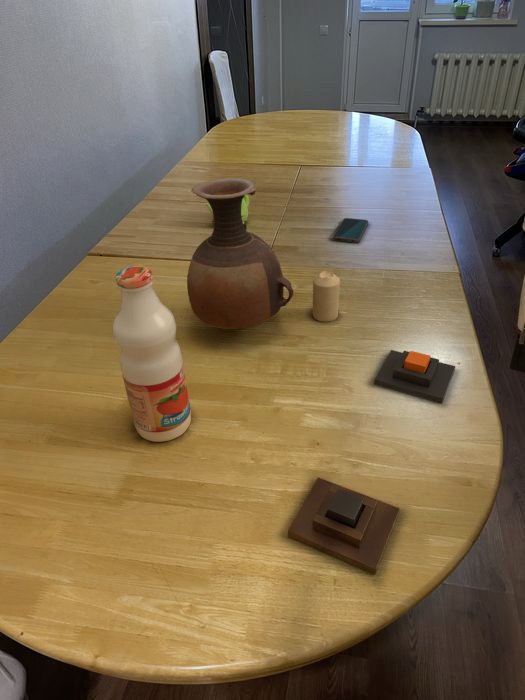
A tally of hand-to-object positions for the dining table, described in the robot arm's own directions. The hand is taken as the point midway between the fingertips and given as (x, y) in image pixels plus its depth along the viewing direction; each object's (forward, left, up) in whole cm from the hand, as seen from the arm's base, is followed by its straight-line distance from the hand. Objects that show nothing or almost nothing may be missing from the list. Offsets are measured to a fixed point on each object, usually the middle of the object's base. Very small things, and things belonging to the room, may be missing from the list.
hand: (524, 368), depth 60 cm
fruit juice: (+50, +9, -22) cm, 55 cm away
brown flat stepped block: (+16, +14, -22) cm, 30 cm away
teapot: (+86, -71, -22) cm, 113 cm away
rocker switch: (+16, +14, -19) cm, 29 cm away
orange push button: (+16, -21, -22) cm, 34 cm away
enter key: (+16, -21, -19) cm, 32 cm away
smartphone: (+50, -79, -22) cm, 96 cm away
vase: (+54, -22, -22) cm, 62 cm away
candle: (+39, -34, -22) cm, 56 cm away
